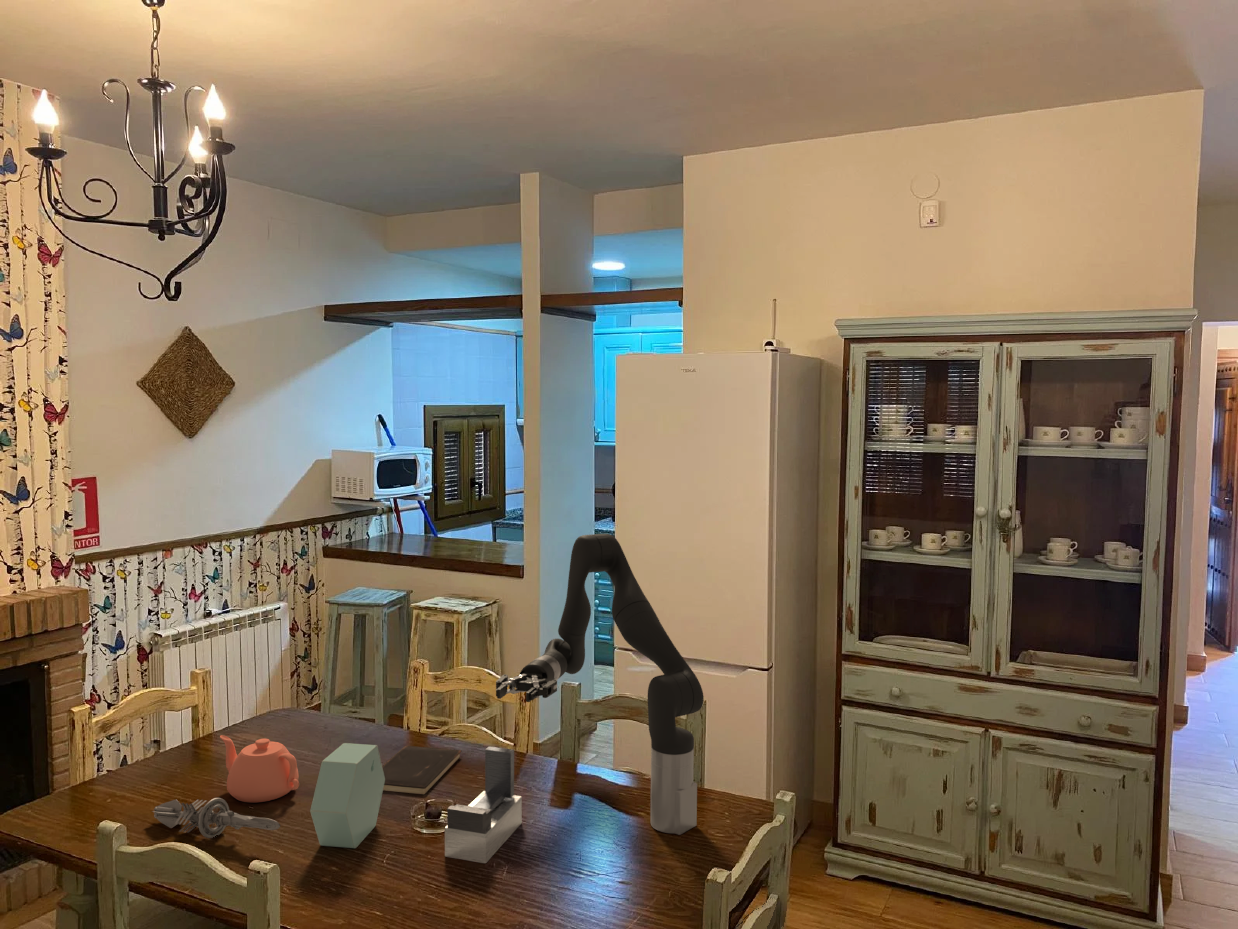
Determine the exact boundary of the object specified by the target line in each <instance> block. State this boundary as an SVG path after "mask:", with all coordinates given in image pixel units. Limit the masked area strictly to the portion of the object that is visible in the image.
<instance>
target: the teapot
mask: <svg viewBox="0 0 1238 929" xmlns="http://www.w3.org/2000/svg"><path fill="white" fill-rule="evenodd" d="M219 737H220V739H221V740H222V742H223V744H224V746H225V766H226V770H227V772H228V775H227V778H226V790H227V792H228V793H229V794H230V796H231V797H233V798H234V799H236V800H237V801H240V802H243V803H265V802H270V801H273V800H277V799H279V798H282V797H284V796H285V795H288V793H290V792H291V791H296V790H297V789H298V788H299V787H300V781H299V778H300V777H299V769H298V765H297V764H298V763H297V762H298V761H297V759H296V757H295V756H294V755H293V754H291V753H290V751H289V750H288V749H287V747H286V746H285V745H284V744H282V743H281V742H277V741H271V740H270V739H269V738H259V739H256V740H255V742H254V743H251V744H249V745H246V746H245V747H244V748H242V749H240V750H241V751H240V752H239V753H238V754H237V751H236V747H235V744H234V741H233V740H232V739H231V738H230V737H228V736H226V735H224V734H223V735H219Z"/></svg>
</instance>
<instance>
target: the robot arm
mask: <svg viewBox="0 0 1238 929" xmlns="http://www.w3.org/2000/svg"><path fill="white" fill-rule="evenodd" d="M599 572H605V573H606V574H607V575H608V576H609V578H610V580H611V582H612V584H613V587H614V592H613V599H612V603H611V604H612V606H611V616H612V619H613V621H614V623H615V625H616V628H618V631H619V632H620V635H621V637H622V638H623V640H624V641H626V643H627V644H628V645H629V646H630V647H631V648H633V649H634V650H635V651H638V653H640V654H641V655H643V656H645V657H646V658H647V659H649V660H650V661H651V662H653V663H654V664H655V665H656V666H657V667H658V668H659V669H660V670H661V672H662V674H660V675H656V676H654V677H653V678H651V680H650V682H649V683H648V688H647V713H648V714H647V715H648V716H647V717H648V731H649V732H648V733H649V736H650V740H651V741H650V742H651V743H650V745H651V746H650V747H651V748H650V756H651V757H650V825H651V827H652V828H653V829H655V830H657V831H658V832H662V833H666V834H676V835H679V836H680V835H682V834H684V833H686V832H688V831H689V830H691V829H692V828H695V827H696V826H698V824H697V818H698V816H697V814H698V813H697V812H698V811H697V810H698V783H697V782H695V781H694V758H695V756H694V754H695V752H694V750H695V748H694V747H695V737H694V735H693V733H692V732H691V731H689V730H688V729H685V728H682V727H679V726H676V725H677V724H676V718H678V717H682V716H683V717H684V716H686V715H692V714H695V713H697V712H699V711H700V710H701V709H702V708H703V705H704V697H705V696H704V692H703V688H702V685H701V683H700V681H699V679H698V677H697V676H696V673H695V672H694V670H693V669H692V668H691V667H690V665H689V664H688V662H687V661H686V660H685V659H684V657H683V656H682V655H681V653H680V652H679V651H678V650H679V649H677V647H676V646H675V644H674V643H673V641H672V639H671V638H670V636H669V635H668V634H667V633H668V632H666V630H665V628H664V627H663V624H662V623H661V621H660V619H659V618H658V616H657V614H656V611H655V610H654V608H653V607H652V604H651V603H650V601H649V600H648V598H647V596H646V595H645V593H644V592H643V590H642V588H641V586H640V585H639V582H638V581H637V579H636V577H635V575H634V572H633V570H632V569H631V566H630V563H629V561H628V559H627V556H626V554H625V552H624V550H623V548H622V546H621V544H620V542H619V540H618V539H617V537H615V536H614V535H612V534H609V533H594V534H584V535H583V534H582V535H580V536H578V537H577V538H576V539H575V541H574V543H573V545H572V549H571V554H570V562H569V571H568V579H567V590H566V599H565V603H564V607H563V611H562V615H561V618H560V621H559V626H558V630H557V633H558V635H559V637H560V638H552V639H551V640H549V642H548V643H547V645H546V647H545V651H544V652H543V654H542V655H540V656H538V657H536V658H534V659H533V660H532V661H530V662H529V663H528V664H526V665H525V666H524V667H523V668H521V670H520V673H519V674H518V675H515V676H513V677H509V675H508V674H502V675H501V676H500V677H499V678H498V679H496V681H495V697H496V699H498V700H499V699H502V698H503V697H505V696H506V695H508V694H512V695H513V694H514V695H516V694H519V693H525V692H526V693H525V702H526V703H530V702H532V701H534V700H535V699H539V698H540V697H542V698H544V699H546V698H548V697H550V696H552V695H553V694H555V693H556V692H558V680H559V679H560V678H561V677H563V676H564V674H565V673H567V674H569V675H575V674H577V673H579V672H580V671H581V670H582V668H583V666H584V664H585V660H586V644H585V642H586V633H587V630H588V626H589V623H590V620H591V616H592V615H591V614H592V612H591V611H592V605H591V603H590V600H589V597H588V595H587V591H586V581H587V578H588V576H589V573H591V574H592V573H599Z"/></svg>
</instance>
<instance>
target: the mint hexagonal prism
mask: <svg viewBox="0 0 1238 929" xmlns="http://www.w3.org/2000/svg"><path fill="white" fill-rule="evenodd" d="M379 751H380V750H379V747H378V744H365V743H364V744H363V743H349V742H343V743H342V744H340V745H339V747H337V748H336V749H335V750H334V751H332V752H330V754H329V755H328V756H326V757H325V758H324V759H323V760H322V761H321V765H320V767H319V773H318V777H317V781H316V785H315V788H314V793H313V799H312V802H311V806H310V810H309V812H310V815H311V820H312V822H313V825H314V830H315V833H316V837H317V839H318V844H319V845H320V846H324V847H336V848H346V849H347V848H348V849H357V847H358V846H359V845H360V844H361V843H362V842H363V841H364V840H365V839H366V837H367V836H369V834H370V833H371V832H372V831H373V829H374V828H375V827H376V825H377V821H378V816H379V811H380V807H381V802H382V796H383V791H384V790H383V788H384V783H385V776H384V772H383V768H382V765H383V764H382V761H381V760H382V759H381V756H380V755H381V754H380V752H379Z"/></svg>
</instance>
